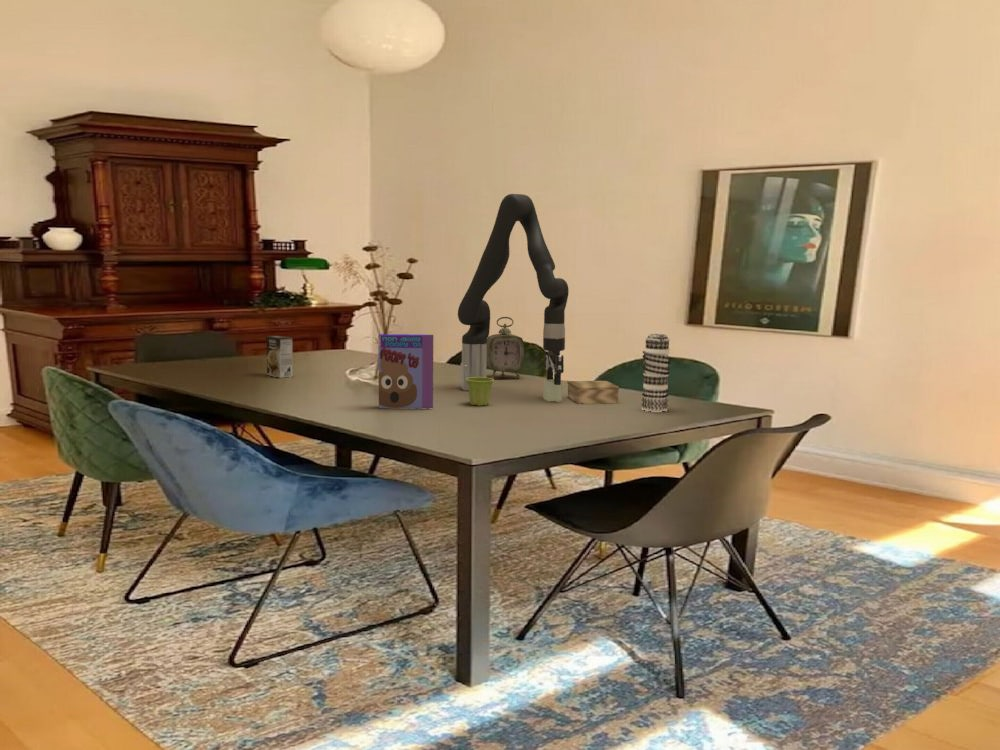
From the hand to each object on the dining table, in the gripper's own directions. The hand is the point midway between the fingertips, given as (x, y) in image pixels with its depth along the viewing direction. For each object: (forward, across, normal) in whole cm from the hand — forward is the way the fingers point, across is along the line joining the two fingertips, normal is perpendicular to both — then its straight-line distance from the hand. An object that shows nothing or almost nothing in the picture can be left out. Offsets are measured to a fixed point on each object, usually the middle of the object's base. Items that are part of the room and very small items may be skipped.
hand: (553, 383), depth 297 cm
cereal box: (+6, +6, -52) cm, 53 cm away
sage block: (+6, 0, 0) cm, 6 cm away
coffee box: (+4, -69, -92) cm, 116 cm away
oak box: (+7, +2, +14) cm, 15 cm away
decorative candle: (+7, +22, +28) cm, 36 cm away
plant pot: (+6, +4, -27) cm, 28 cm away
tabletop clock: (+6, -52, -4) cm, 53 cm away
